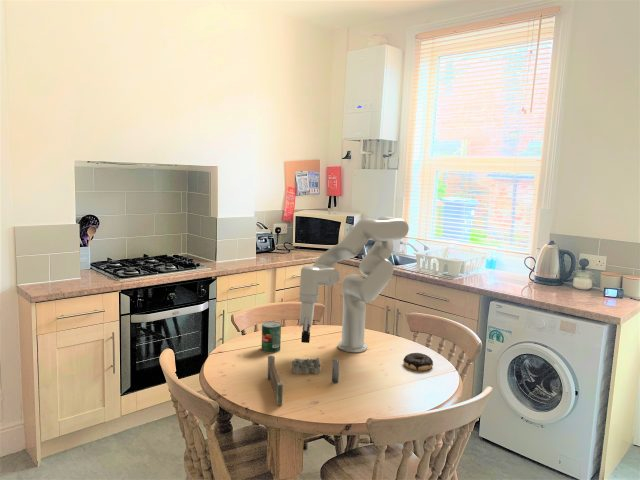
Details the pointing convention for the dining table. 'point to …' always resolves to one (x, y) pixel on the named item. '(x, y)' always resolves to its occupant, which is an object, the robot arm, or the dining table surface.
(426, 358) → the donut
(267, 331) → the canned tomato
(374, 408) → the dining table surface
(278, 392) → the gate
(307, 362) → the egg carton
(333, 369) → the gate posts
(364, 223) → the robot arm
